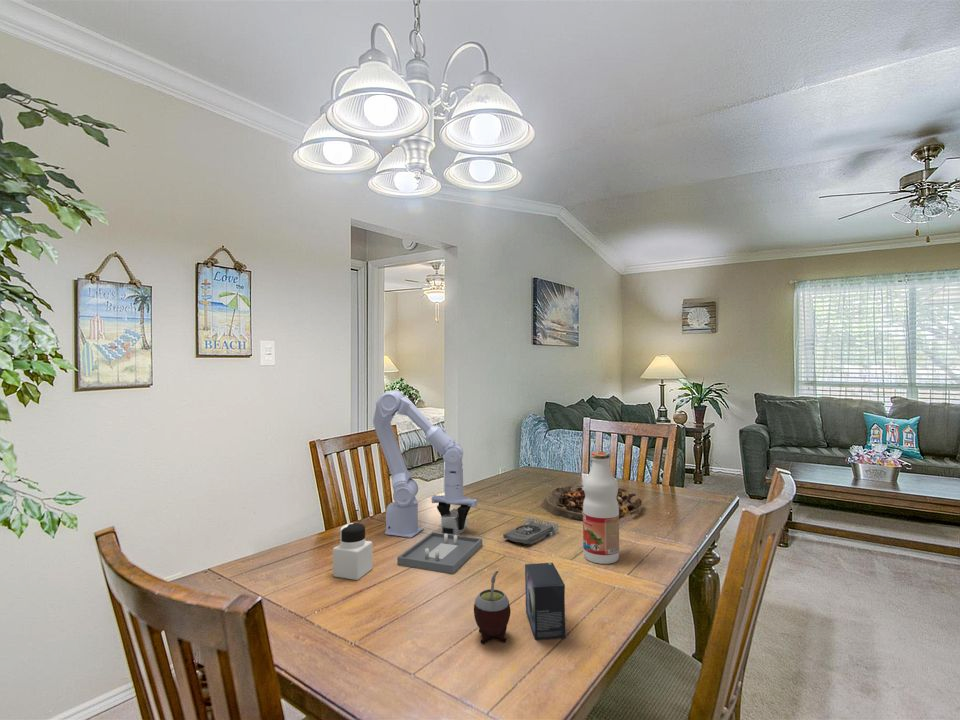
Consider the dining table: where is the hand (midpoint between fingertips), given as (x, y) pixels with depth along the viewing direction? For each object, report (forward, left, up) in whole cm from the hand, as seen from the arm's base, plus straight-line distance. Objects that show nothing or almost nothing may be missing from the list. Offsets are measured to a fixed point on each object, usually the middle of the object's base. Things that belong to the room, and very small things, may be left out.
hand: (454, 528), depth 154 cm
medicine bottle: (-12, -35, -2) cm, 37 cm away
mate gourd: (+31, -50, -2) cm, 59 cm away
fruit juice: (+45, -4, -2) cm, 45 cm away
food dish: (+35, +40, -2) cm, 53 cm away
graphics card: (+22, +5, -2) cm, 23 cm away
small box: (+39, -42, -2) cm, 57 cm away
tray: (+4, -17, -1) cm, 18 cm away
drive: (0, 0, -1) cm, 1 cm away
